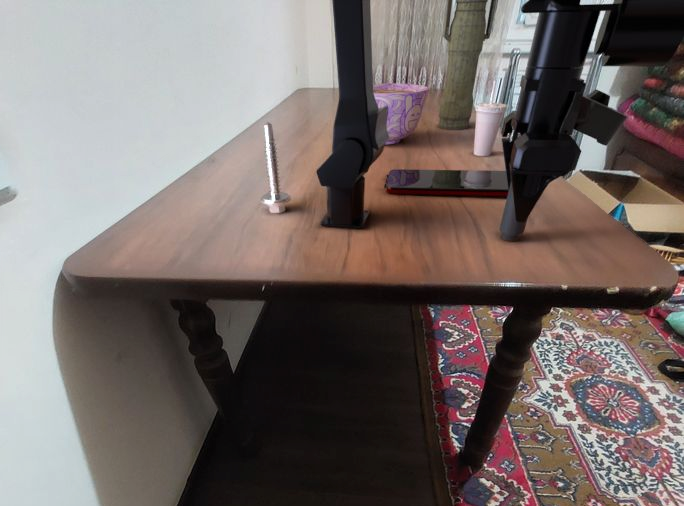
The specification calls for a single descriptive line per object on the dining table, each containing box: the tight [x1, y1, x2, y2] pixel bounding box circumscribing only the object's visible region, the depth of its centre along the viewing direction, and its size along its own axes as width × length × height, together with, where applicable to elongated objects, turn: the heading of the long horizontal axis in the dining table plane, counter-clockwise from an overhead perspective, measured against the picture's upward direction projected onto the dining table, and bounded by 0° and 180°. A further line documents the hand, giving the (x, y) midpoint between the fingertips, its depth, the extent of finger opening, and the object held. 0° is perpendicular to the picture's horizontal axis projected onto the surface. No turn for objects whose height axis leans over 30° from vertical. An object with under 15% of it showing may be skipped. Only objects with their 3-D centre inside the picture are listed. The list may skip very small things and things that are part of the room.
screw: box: [260, 121, 292, 214], centre depth 63 cm, size 13×5×5 cm
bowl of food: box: [373, 82, 430, 145], centre depth 101 cm, size 20×20×12 cm
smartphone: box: [384, 168, 509, 197], centre depth 74 cm, size 12×2×25 cm
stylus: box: [498, 182, 529, 242], centre depth 54 cm, size 3×3×9 cm
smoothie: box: [473, 79, 508, 157], centre depth 88 cm, size 6×6×14 cm
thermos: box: [437, 0, 498, 131], centre depth 106 cm, size 9×12×35 cm
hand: (516, 208), depth 54 cm, fingers open, 9 cm apart
